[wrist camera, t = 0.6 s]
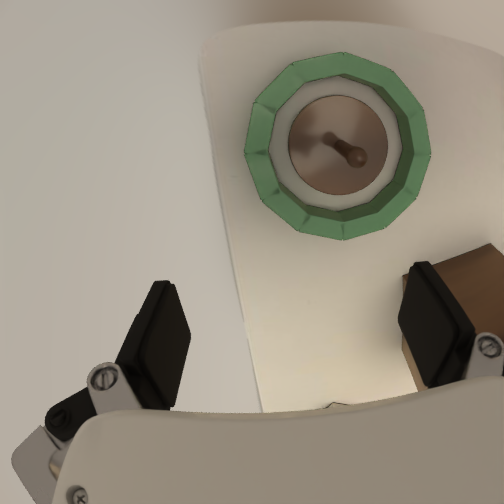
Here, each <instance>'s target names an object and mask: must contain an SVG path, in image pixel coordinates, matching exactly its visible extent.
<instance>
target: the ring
mask: <svg viewBox="0 0 504 504" xmlns="http://www.w3.org/2000/svg"><path fill="white" fill-rule="evenodd" d="M337 75H338V76H341V77H344V78H347V79H350V80H353V81H356V82H359V83H362V84H365V85H368V86H370V87H373V88H374V89H375V91H376V92H377V93H378V94H379V95H380V96H381V97H382V98H383V100H384V101H385V102H386V103H387V104H388V105H389V106H390V108H391V109H392V110H393V111H394V112H395V114H396V116H397V120H398V125H399V130H400V135H401V140H402V145H403V151H402V154H401V157H400V161H399V164H398V167H397V170H396V173H395V176H394V179H393V181H392V182H391V183H390V184H389V185H388V186H387V187H386V188H385V189H384V190H382V191H381V192H380V193H379V194H378V195H377V196H376V197H375V198H374V199H373V200H372V201H371V202H370V203H367V204H364V205H360V206H357V207H353V208H350V209H346V210H343V211H339V212H336V211H331V210H327V209H323V208H318V207H313V206H309V205H305V204H304V203H303V202H302V201H301V200H299V199H298V198H297V197H296V196H295V195H294V194H293V193H292V192H290V191H289V190H288V189H287V188H286V187H285V186H284V185H282V184H281V183H280V182H279V181H278V178H277V175H276V172H275V169H274V166H273V163H272V160H271V157H270V154H269V151H268V148H269V143H270V138H271V134H272V129H273V124H274V120H275V115H276V112H277V111H278V109H279V108H280V107H281V106H282V105H283V104H284V103H285V102H286V101H287V100H288V99H289V98H290V97H291V96H292V95H293V94H294V93H295V92H296V91H297V90H298V89H299V88H300V87H301V86H302V85H303V84H304V83H306V82H310V81H315V80H319V79H323V78H328V77H332V76H337ZM422 108H423V107H422V106H421V105H420V103H419V102H418V101H417V100H416V98H415V97H414V96H413V94H412V93H411V92H410V91H409V89H408V88H407V87H406V86H405V84H404V83H403V82H402V81H401V80H400V78H399V77H398V76H397V75H396V74H395V73H394V71H391V69H389V68H386V67H384V66H381V65H379V64H376V63H374V62H371V61H369V60H366V59H363V58H360V57H358V56H355V55H352V54H349V53H346V52H344V53H343V52H339V53H333V54H328V55H323V56H318V57H314V58H309V59H305V60H301V61H297V62H293V63H292V64H290V65H289V66H288V67H287V68H285V69H284V70H283V71H282V72H281V74H280V75H279V76H278V77H277V78H276V79H275V80H274V81H273V82H272V83H271V84H270V85H269V86H268V87H267V88H266V89H265V90H264V91H263V92H262V93H261V94H260V95H259V96H258V97H257V98H256V100H255V102H254V103H253V108H252V113H251V118H250V123H249V128H248V133H247V138H246V144H245V149H244V153H245V154H244V156H245V158H246V161H247V164H248V166H249V169H250V172H251V175H252V177H253V180H254V183H255V185H256V188H257V191H258V194H259V196H260V199H261V200H262V202H263V203H264V204H265V205H267V206H268V207H269V208H270V209H271V210H273V211H274V212H275V213H276V214H277V215H279V216H280V217H281V218H282V219H283V220H285V221H286V222H287V223H288V224H289V225H290V226H292V227H293V228H294V229H295V230H296V231H298V230H299V232H302V233H307V234H312V235H317V236H322V237H327V238H332V239H337V240H342V239H343V241H344V240H348V239H351V238H354V237H358V236H361V235H365V234H368V233H371V232H375V231H378V230H382V229H384V227H385V228H386V227H387V226H388V225H389V224H390V223H391V222H393V221H394V220H395V219H396V218H397V217H398V216H399V215H400V214H401V213H402V212H403V211H404V210H405V209H406V208H407V207H408V206H409V205H410V204H411V203H412V202H413V201H414V200H415V199H416V197H417V196H418V193H419V191H420V188H421V185H422V182H423V179H424V176H425V173H426V170H427V167H428V164H429V161H430V157H431V156H430V155H431V149H430V142H429V136H428V130H427V124H426V119H425V114H424V110H423V109H422Z"/></svg>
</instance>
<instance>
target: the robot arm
mask: <svg viewBox="0 0 504 504" xmlns="http://www.w3.org/2000/svg"><path fill="white" fill-rule="evenodd" d="M398 323H399V326H400V328H401V330H402V333H403V335H404V337H405V340H406V342H407V344H408V347H409V349H410V351H411V354H412V356H413V359H414V361H415V364H416V366H417V369H418V371H419V374H420V376H421V379H422V382H423V384H424V386H426V387H428V389H427V390H423V391H419V392H415V393H411V394H407V395H402V396H398V397H393V398H388V399H383V400H378V401H372V402H367V403H361V404H354V405H348V406H340V407H333V408H324V409H315V410H304V411H291V412H273V413H202V412H201V413H200V412H181V411H170V407H174V405H175V402H176V398H177V393H178V389H179V385H180V381H181V376H182V373H183V368H184V364H185V360H186V356H187V352H188V348H189V344H190V340H191V333H190V329H189V326H188V324H187V321H186V318H185V315H184V312H183V309H182V306H181V303H180V300H179V296H178V293H177V290H176V287H175V285H174V284H171V283H170V281H168V280H164V281H155V282H154V283H153V285H152V287H151V289H150V291H149V293H148V295H147V297H146V299H145V301H144V303H143V305H142V308H141V309H140V312H139V314H137V315H136V317H135V319H134V321H133V323H132V325H131V327H130V329H129V332H128V334H127V336H126V338H125V340H124V343H123V345H122V347H121V350H120V352H119V354H118V356H117V358H116V361H115V363H111V362H106V363H102V364H99V365H97V366H96V367H94V368H93V369H92V370H91V372H90V373H89V375H88V378H87V387H86V388H84V389H83V390H81V391H79V392H77V393H76V394H74V395H72V396H70V397H68V398H66V399H65V400H63V401H61V402H59V403H57V404H56V405H54V406H53V407H51V408H50V410H49V411H48V412H47V414H46V416H45V426H44V427H42V426H41V425H40V426H39V427H38V428H37V429H36V430H35V431H34V432H33V433H32V434H31V435H30V436H29V437H28V438H27V439H26V440H25V441H24V442H23V443H21V445H20V446H18V447H17V448H16V449H15V451H14V452H13V454H12V458H11V460H12V466H13V468H14V470H15V472H16V473H17V475H18V477H19V478H20V480H21V481H22V483H23V485H24V486H25V488H26V489H27V491H28V492H29V494H30V495H31V497H32V498H33V500H34V501H35V503H36V504H504V344H503V342H502V341H501V339H500V338H499V337H498V336H496V335H495V334H493V333H489V332H482V333H479V334H478V335H477V334H476V332H475V330H476V329H475V327H474V325H473V324H472V322H471V321H470V319H469V318H468V316H467V314H466V313H465V311H464V310H463V308H462V307H461V305H460V304H459V302H458V301H457V299H456V298H455V297H454V295H453V294H452V292H451V291H450V289H449V288H448V287H447V285H446V284H445V282H444V281H443V280H442V278H441V277H440V276H439V274H438V273H437V272H436V270H435V269H434V268H433V266H432V265H431V264H430V263H429V262H428V261H422V262H415V263H414V265H413V266H411V267H410V270H409V275H408V279H407V283H406V287H405V292H404V296H403V300H402V303H401V307H400V311H399V314H398Z"/></svg>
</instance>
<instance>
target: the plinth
mask: <svg viewBox="0 0 504 504" xmlns="http://www.w3.org/2000/svg"><path fill="white" fill-rule="evenodd" d="M432 266H433V268H434V269H435V270H436V272H437V273H438V274H439V276H440V277H441V278H442V280H443V281H444V282H445V284H446V285H447V287H448V288H449V289H450V291H451V292H452V294H453V295H454V297H455V298H456V299H457V301H458V302H459V304H460V305H461V307H462V308H463V310H464V311H465V313H466V314H467V316H468V318H469V319H470V321H471V322H472V324H473V325H474V327H475V329H476V330H475V332H476V334H477V335H478V334H479V333H482V332H489V333H493V334H495V335H496V336H498V337H499V338H500V339H501V341H502V342H503V344H504V255H503V254H502V253H501V252H500V251H498V250H497V249H496V248H495V247H494V246H493V245H492V244H491V243H490V244H488V245H486V246H483V247H481V248H478V249H475V250H473V251H470V252H468V253H465V254H462V255H460V256H457V257H454V258H452V259H449V260H446V261H444V262H441V263H438V264H435V265H432ZM408 275H409V274H406V275H403V296H404V292H405V287H406V283H407V279H408ZM402 351H403V354H404V356H405V358H406V361H407V363H408V366H409V369H410V371H411V374H412V376H413V379H414V382H415V384H416V387H417V390H418V392H419V391H423V390H427V389H428V387H426V386H424V384H423V382H422V379H421V376H420V374H419V371H418V369H417V366H416V364H415V361H414V359H413V356H412V354H411V351H410V349H409V347H408V344H407V342H406V340H405V337H404V335H403V336H402Z"/></svg>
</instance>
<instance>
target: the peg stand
mask: <svg viewBox="0 0 504 504" xmlns="http://www.w3.org/2000/svg"><path fill="white" fill-rule="evenodd" d="M288 147H289V154H290V158H291V161H292V164H293V166H294V168H295V170H296V171H297V173H298V174H299V176H300V177H301V178H302V179H303V180H304V181H305V182H306V183H307V184H308V185H310V186H311V187H313V188H314V189H316V190H318V191H321V192H323V193H327V194H332V195H346V194H351V193H354V192H357V191H359V190H361V189H363V188H365V187H366V186H368V185H369V184H370V183H371V182H373V181H374V180H375V178H376V177H377V176H378V175H379V173H380V172H381V170H382V168H383V166H384V163H385V161H386V157H387V150H388V141H387V135H386V131H385V128H384V126H383V124H382V122H381V120H380V118H379V117H378V116H377V114H376V113H375V112H374V111H373V110H372V109H371V108H370V107H369V106H367V105H366V104H365V103H363V102H361V101H359V100H357V99H354V98H351V97H348V96H340V95H336V96H327V97H323V98H320V99H317V100H315V101H313V102H311V103H310V104H308V105H307V106H306V107H305V108H304V109H302V111H301V112H300V113H299V114H298V115H297V117H296V118H295V120H294V122H293V124H292V126H291V130H290V133H289V141H288Z"/></svg>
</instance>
